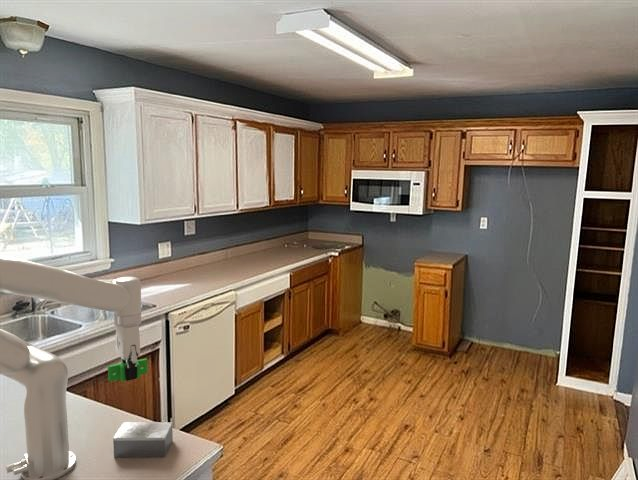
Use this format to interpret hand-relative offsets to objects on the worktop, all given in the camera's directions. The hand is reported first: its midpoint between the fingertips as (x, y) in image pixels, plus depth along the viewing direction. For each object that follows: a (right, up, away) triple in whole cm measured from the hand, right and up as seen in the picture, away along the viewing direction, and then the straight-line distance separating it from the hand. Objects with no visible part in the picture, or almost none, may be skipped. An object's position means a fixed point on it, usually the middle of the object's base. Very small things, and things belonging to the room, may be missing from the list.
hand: (129, 376), depth 142 cm
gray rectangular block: (+8, -19, -8) cm, 22 cm away
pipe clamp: (0, -1, 0) cm, 1 cm away
